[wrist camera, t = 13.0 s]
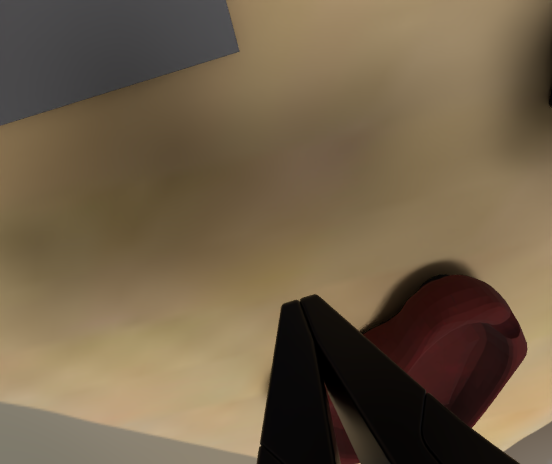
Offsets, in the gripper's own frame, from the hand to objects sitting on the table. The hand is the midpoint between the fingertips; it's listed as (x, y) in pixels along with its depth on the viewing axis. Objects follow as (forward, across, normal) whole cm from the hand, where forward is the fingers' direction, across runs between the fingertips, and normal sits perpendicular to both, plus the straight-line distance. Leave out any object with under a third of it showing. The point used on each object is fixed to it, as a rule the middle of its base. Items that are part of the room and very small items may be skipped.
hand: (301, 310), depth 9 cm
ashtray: (+13, -7, +23) cm, 27 cm away
